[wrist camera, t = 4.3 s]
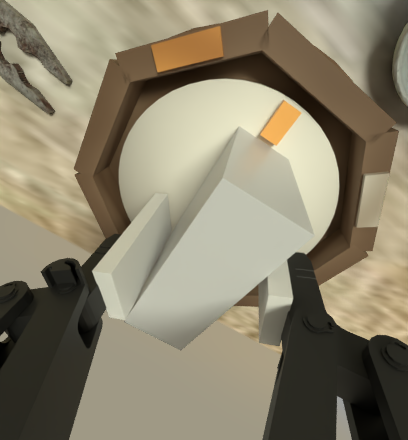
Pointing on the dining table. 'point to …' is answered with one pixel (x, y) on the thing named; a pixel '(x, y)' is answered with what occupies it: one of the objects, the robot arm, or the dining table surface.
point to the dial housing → (264, 74)
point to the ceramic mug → (401, 66)
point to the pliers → (31, 43)
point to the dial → (224, 197)
